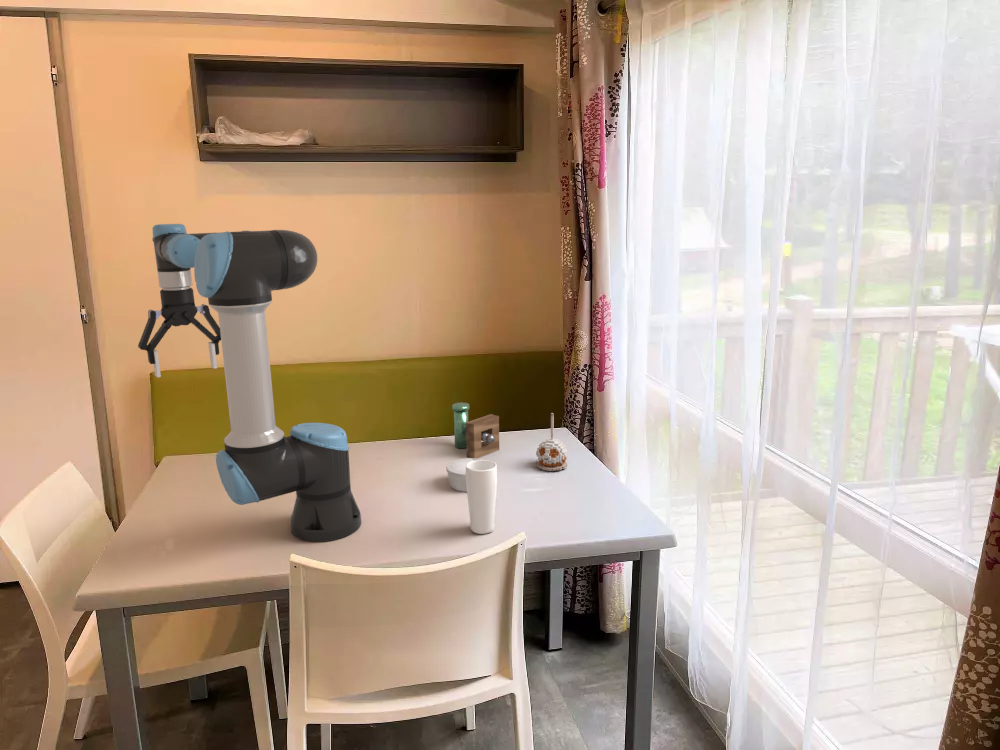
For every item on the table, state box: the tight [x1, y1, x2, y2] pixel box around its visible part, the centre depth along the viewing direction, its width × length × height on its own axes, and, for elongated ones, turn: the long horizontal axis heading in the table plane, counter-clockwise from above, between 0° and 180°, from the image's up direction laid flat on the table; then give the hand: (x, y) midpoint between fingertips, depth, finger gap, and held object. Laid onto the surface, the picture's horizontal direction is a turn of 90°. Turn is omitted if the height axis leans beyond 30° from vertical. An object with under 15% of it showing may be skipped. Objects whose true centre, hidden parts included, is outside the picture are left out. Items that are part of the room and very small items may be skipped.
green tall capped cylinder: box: [452, 402, 495, 449], centre depth 206 cm, size 15×5×12 cm, turn 47°
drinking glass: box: [466, 459, 498, 535], centre depth 158 cm, size 7×7×15 cm
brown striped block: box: [466, 413, 500, 459], centre depth 204 cm, size 3×10×10 cm, turn 137°
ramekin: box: [445, 457, 482, 493], centre depth 183 cm, size 11×11×5 cm
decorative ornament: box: [535, 412, 568, 472], centre depth 193 cm, size 8×8×15 cm
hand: (186, 371), depth 185 cm, fingers open, 13 cm apart
